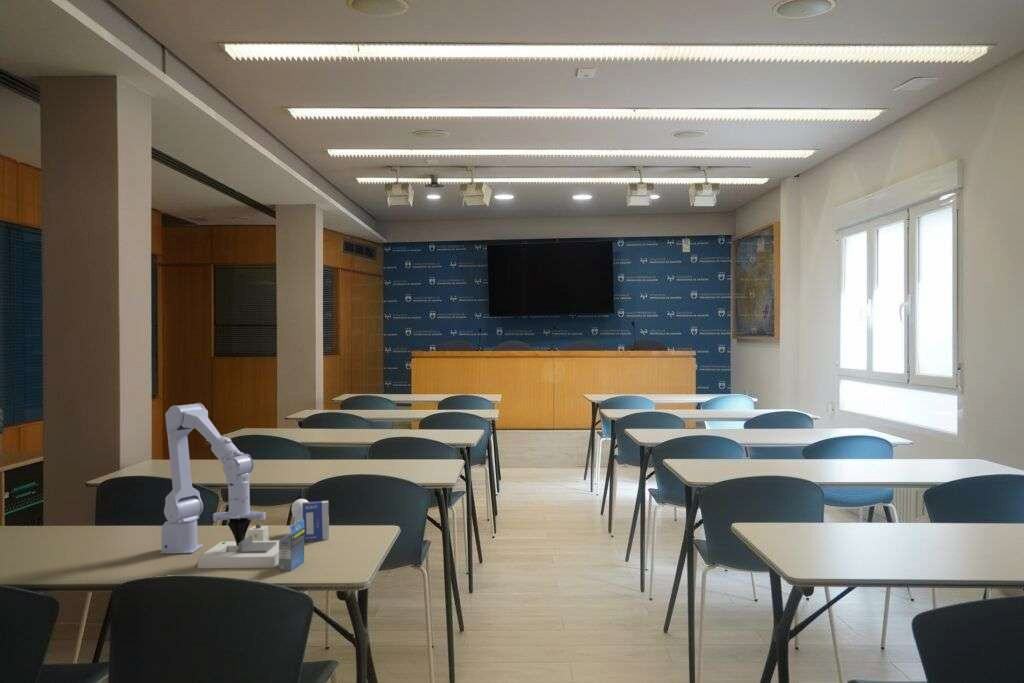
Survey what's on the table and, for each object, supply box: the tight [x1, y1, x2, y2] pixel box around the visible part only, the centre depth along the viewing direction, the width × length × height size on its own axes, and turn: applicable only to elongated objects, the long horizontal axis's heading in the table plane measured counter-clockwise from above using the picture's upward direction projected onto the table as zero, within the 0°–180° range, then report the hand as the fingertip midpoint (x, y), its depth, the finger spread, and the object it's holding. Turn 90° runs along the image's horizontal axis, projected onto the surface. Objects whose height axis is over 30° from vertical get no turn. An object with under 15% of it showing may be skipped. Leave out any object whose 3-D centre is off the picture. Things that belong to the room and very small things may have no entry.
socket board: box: [197, 540, 279, 569], centre depth 213 cm, size 21×16×3 cm
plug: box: [247, 523, 269, 541], centre depth 227 cm, size 4×5×6 cm
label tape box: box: [278, 519, 305, 572], centre depth 205 cm, size 9×4×12 cm, turn 172°
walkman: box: [303, 500, 330, 542], centre depth 232 cm, size 8×3×12 cm, turn 103°
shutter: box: [236, 536, 276, 553], centre depth 213 cm, size 8×8×3 cm
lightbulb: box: [290, 498, 309, 529], centre depth 241 cm, size 6×6×11 cm
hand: (240, 544), depth 213 cm, fingers closed
